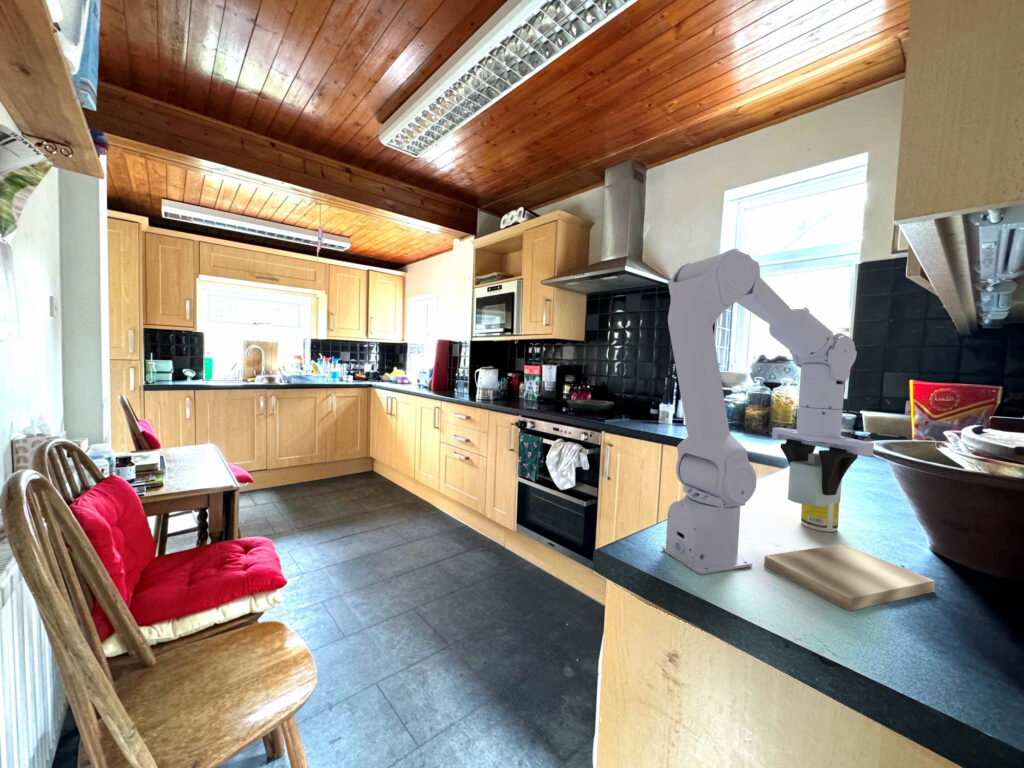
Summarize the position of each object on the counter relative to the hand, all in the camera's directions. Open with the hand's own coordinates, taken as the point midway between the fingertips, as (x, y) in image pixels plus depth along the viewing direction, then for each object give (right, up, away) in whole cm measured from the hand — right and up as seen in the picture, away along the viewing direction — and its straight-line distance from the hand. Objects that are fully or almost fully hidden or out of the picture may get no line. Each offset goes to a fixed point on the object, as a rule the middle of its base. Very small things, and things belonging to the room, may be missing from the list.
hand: (814, 490), depth 65 cm
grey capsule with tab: (0, -2, 0) cm, 2 cm away
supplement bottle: (+7, -9, +8) cm, 14 cm away
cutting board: (-4, -9, -11) cm, 15 cm away
